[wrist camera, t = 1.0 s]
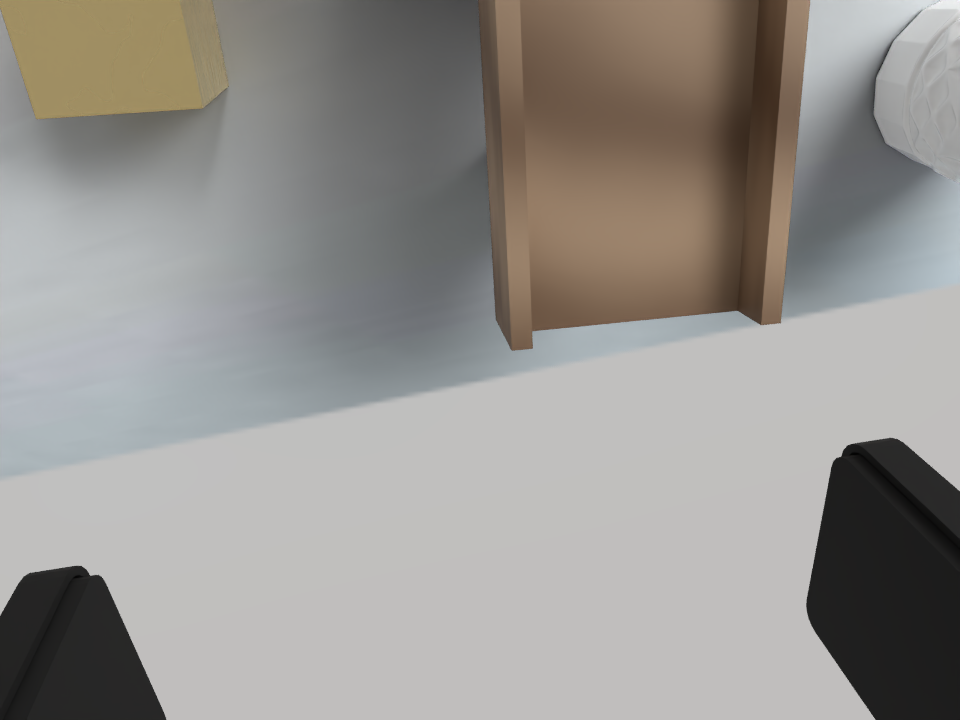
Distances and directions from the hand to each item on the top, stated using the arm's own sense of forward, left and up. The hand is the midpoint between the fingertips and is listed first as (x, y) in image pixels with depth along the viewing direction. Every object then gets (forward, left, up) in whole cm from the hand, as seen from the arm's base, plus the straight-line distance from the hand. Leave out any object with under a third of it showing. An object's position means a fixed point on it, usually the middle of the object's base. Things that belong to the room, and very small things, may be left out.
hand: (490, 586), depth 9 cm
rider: (-6, -9, -23) cm, 25 cm away
